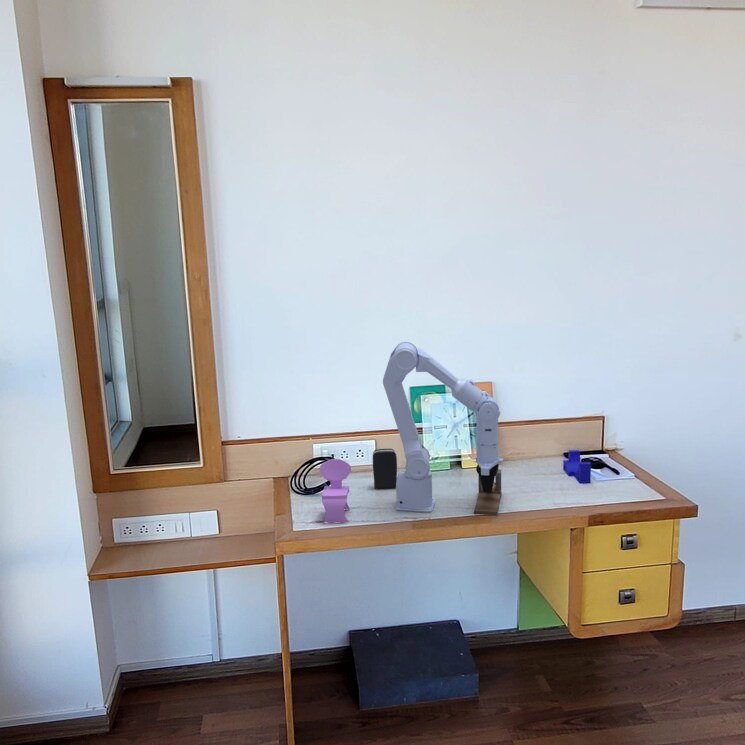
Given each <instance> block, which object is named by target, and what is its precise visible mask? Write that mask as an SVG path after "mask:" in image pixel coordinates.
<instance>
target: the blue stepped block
mask: <svg viewBox="0 0 745 745" xmlns="http://www.w3.org/2000/svg"><path fill="white" fill-rule="evenodd" d="M562 461H563V464H562V465H563V466H562V467H563V468H562V470H563V471H564V472H565V473H566V474H567V476H568V477H574V479H576V480H577V482H578V484H584V485H586V484H591V479H592V478H591V476H592V475H591V474H592V463H591V462H590V461H584V462H582V460H581V451H580V450H579V449H575V450H574V449H573V450H568V458H567V459H563V460H562Z"/></svg>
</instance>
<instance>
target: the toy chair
mask: <svg viewBox="0 0 745 745" xmlns="http://www.w3.org/2000/svg"><path fill="white" fill-rule="evenodd" d="M318 468H319V472H320V475H321V476H322V477H323V478H324V479H325V480H327V481H329V482H330V485H329V486H324V488H323V491H322V494H321V502H322V505H323V507H324V511H325V517H324V520H323V522H348V523H349V521H348V520H347V518H346V515H345V510H344V509H350V510H351V508H350V507H349V504H348V495H349V492H350V488H349V487H350V486H349V485H345V486H343V483H342V482H343V481H345V479H347V478H348V476H349V475H350V474H351V473H352V472H351V471H352V467H351V465H350V463H348V462H347V461H345V460H343V459H339V458H332V459H329V460H328V459H327V461H324V462H322V463H321V465H320V466H319V467H318Z"/></svg>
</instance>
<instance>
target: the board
mask: <svg viewBox="0 0 745 745" xmlns="http://www.w3.org/2000/svg"><path fill="white" fill-rule="evenodd" d="M501 497H502V493H501V494H486V493H479V492H478V494H477V498H476V502H475V505H474V510H473V514H474V515H482V514H483V516H484V515H485V516H498V515H499V510H500V509H499V508H500V504H501V499H502V498H501Z"/></svg>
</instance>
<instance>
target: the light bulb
mask: <svg viewBox="0 0 745 745" xmlns="http://www.w3.org/2000/svg"><path fill="white" fill-rule="evenodd" d="M494 480H495V478H494ZM481 489H482V491H483V488H482V486H481ZM494 490H495V481H494V483H493V488H492V492H491V493H493V492H494ZM484 493H486V494H491V493H487V492H484Z"/></svg>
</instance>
